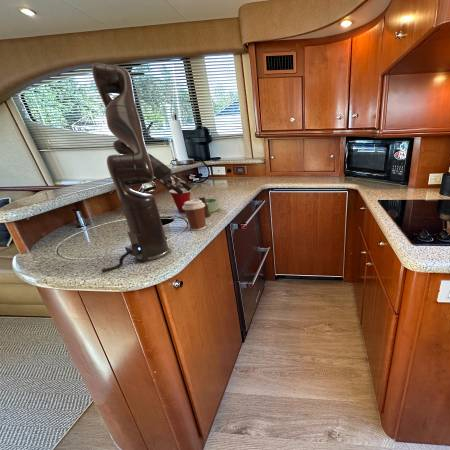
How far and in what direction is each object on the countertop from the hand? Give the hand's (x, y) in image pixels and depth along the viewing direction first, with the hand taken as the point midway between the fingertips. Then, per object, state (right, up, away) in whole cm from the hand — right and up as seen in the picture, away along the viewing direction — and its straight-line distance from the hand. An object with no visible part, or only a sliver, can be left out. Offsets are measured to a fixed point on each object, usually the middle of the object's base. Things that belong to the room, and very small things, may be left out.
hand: (186, 191), depth 117 cm
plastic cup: (-9, -9, +17) cm, 21 cm away
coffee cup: (+11, -18, -12) cm, 25 cm away
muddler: (+8, -12, +4) cm, 15 cm away
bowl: (+5, -9, +14) cm, 17 cm away
